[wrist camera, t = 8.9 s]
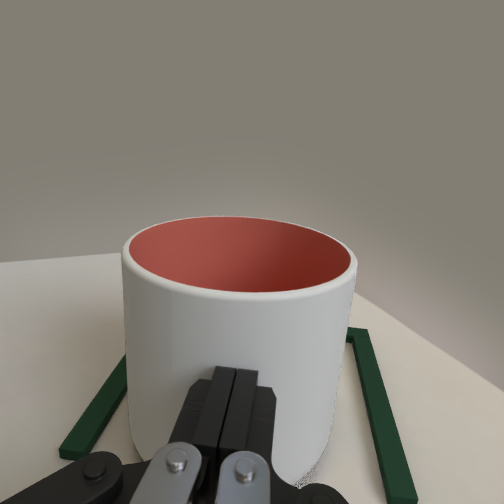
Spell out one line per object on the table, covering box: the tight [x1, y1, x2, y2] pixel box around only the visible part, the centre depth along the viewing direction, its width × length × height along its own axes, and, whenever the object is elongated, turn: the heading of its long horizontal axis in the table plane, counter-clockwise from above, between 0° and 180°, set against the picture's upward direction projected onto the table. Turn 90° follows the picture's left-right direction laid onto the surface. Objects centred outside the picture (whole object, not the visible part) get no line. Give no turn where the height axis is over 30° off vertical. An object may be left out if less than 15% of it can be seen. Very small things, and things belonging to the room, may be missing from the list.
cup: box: [121, 216, 358, 498], centre depth 20 cm, size 10×10×10 cm
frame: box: [59, 327, 418, 504], centre depth 25 cm, size 16×14×1 cm
